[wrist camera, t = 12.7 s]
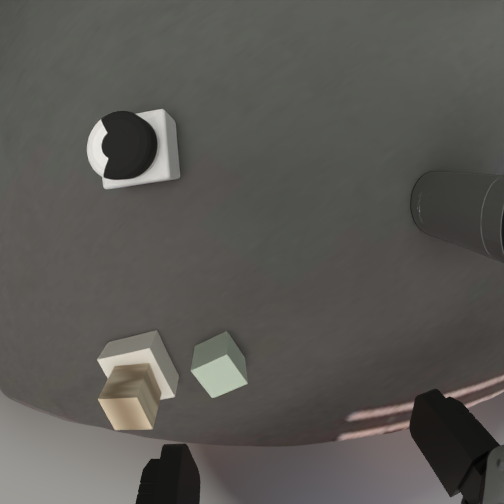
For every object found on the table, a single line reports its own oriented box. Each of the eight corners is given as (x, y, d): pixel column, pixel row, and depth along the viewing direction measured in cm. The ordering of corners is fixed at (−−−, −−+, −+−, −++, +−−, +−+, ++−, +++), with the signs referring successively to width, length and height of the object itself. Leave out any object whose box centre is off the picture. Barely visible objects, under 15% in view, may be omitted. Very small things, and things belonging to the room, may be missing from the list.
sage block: (226, 330, 41) (227, 354, 35) (244, 357, 42) (247, 383, 36) (194, 345, 41) (190, 370, 35) (213, 371, 42) (212, 398, 36)
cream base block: (157, 329, 40) (149, 348, 35) (179, 375, 42) (175, 396, 37) (108, 341, 40) (97, 359, 35) (132, 384, 42) (124, 405, 37)
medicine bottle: (175, 120, 34) (152, 95, 22) (181, 178, 36) (159, 180, 24) (119, 130, 34) (76, 113, 22) (124, 187, 35) (81, 193, 24)
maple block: (149, 362, 36) (136, 397, 29) (161, 393, 37) (152, 429, 30) (114, 366, 36) (97, 398, 29) (128, 395, 37) (115, 429, 30)
